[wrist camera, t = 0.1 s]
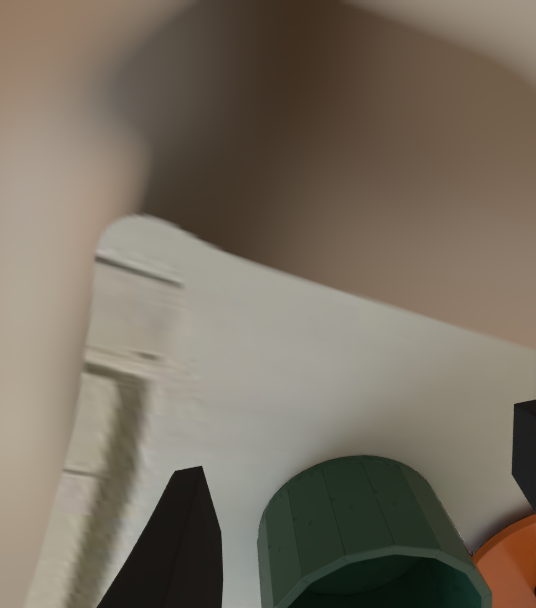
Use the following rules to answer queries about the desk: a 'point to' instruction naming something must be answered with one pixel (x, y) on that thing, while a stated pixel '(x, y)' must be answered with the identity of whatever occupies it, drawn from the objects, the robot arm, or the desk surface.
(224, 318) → the desk surface
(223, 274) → the desk surface
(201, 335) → the desk surface
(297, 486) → the tin
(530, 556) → the lid
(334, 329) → the desk surface
